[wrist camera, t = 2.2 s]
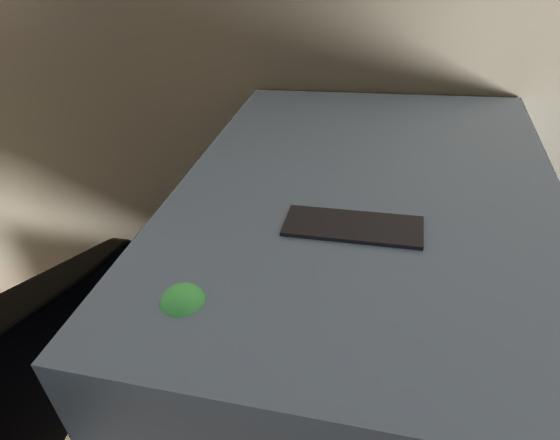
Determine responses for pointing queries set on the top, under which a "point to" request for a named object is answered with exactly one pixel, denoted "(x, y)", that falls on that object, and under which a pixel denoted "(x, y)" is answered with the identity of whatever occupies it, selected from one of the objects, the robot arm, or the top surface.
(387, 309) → the charger
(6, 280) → the top surface
